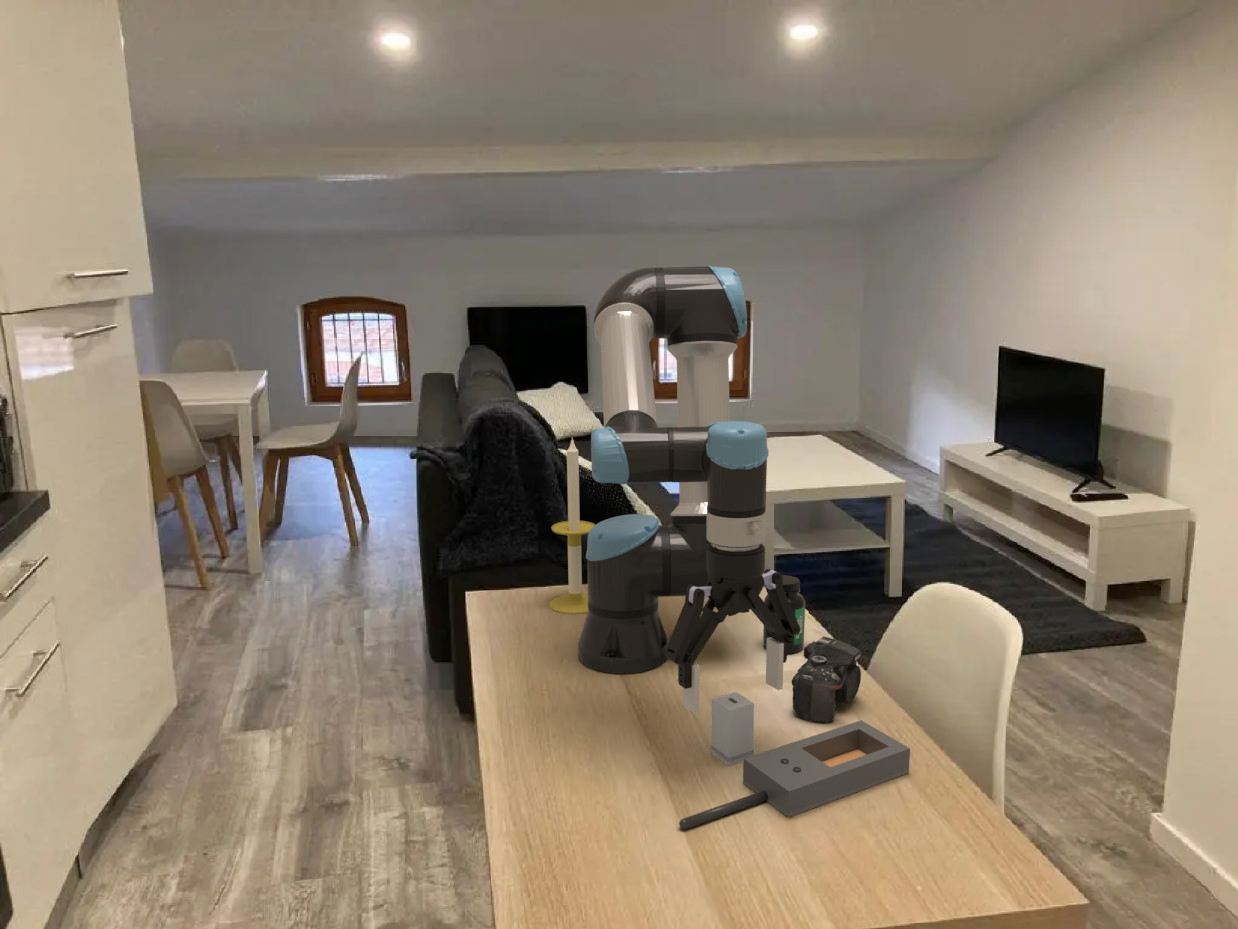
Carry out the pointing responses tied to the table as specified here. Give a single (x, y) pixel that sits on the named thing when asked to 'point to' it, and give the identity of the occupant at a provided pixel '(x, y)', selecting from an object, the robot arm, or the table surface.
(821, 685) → the camera
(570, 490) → the candle
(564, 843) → the table surface
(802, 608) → the supplement bottle
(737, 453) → the robot arm
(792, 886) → the table surface
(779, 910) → the table surface
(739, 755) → the block
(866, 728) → the power strip
